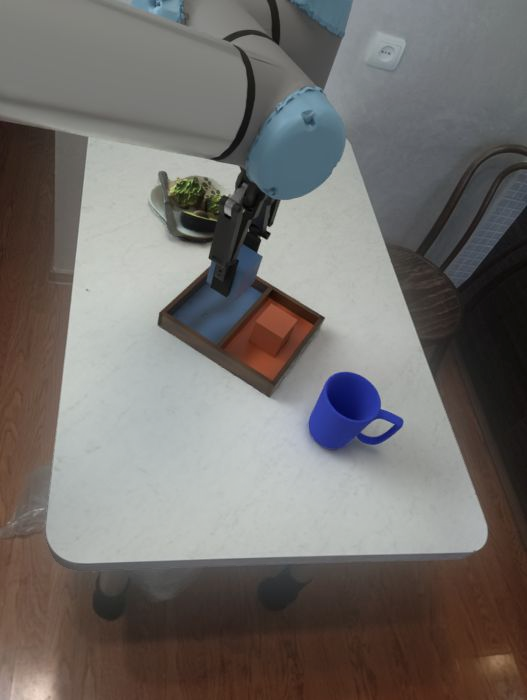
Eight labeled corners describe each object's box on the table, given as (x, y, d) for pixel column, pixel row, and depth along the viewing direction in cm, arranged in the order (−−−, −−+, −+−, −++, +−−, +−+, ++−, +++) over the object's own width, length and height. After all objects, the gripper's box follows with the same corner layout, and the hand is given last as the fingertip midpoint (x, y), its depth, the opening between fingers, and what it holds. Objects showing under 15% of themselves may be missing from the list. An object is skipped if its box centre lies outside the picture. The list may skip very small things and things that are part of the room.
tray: (157, 324, 84) (159, 312, 82) (219, 266, 96) (222, 254, 93) (269, 397, 81) (274, 386, 79) (319, 328, 93) (325, 317, 90)
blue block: (235, 300, 74) (243, 275, 70) (206, 281, 75) (212, 255, 71) (254, 281, 77) (263, 256, 73) (225, 263, 78) (232, 237, 74)
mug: (371, 476, 78) (402, 444, 70) (295, 442, 78) (317, 407, 70) (381, 431, 83) (411, 396, 75) (309, 399, 83) (332, 362, 75)
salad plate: (122, 187, 102) (124, 167, 98) (199, 168, 112) (203, 149, 108) (180, 253, 95) (183, 233, 92) (256, 227, 105) (262, 208, 101)
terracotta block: (274, 357, 85) (283, 338, 81) (248, 341, 86) (255, 321, 82) (288, 339, 88) (298, 319, 85) (263, 323, 89) (271, 303, 85)
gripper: (284, 88, 64) (242, 236, 82) (196, 143, 53) (170, 301, 71) (338, 118, 63) (283, 261, 81) (260, 180, 52) (217, 331, 69)
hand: (231, 280), depth 76 cm, fingers closed on blue block, 5 cm apart
